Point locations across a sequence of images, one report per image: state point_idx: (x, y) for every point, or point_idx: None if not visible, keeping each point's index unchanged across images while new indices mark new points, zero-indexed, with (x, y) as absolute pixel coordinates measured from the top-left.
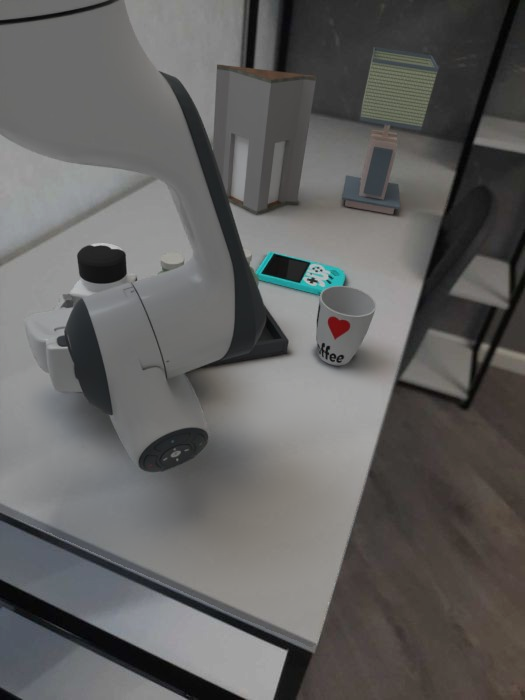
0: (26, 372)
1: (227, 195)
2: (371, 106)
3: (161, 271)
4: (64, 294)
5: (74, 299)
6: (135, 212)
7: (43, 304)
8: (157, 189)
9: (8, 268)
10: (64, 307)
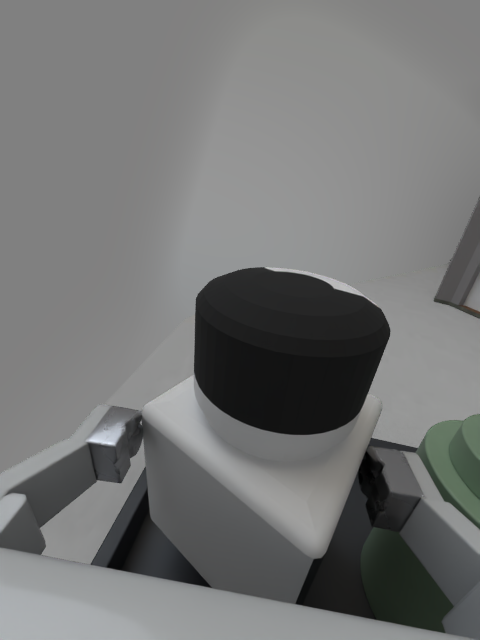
0: None
1: (459, 303)
2: None
3: (475, 417)
4: (116, 408)
5: (150, 433)
6: None
7: (188, 376)
8: (371, 285)
9: (188, 318)
10: (24, 497)
